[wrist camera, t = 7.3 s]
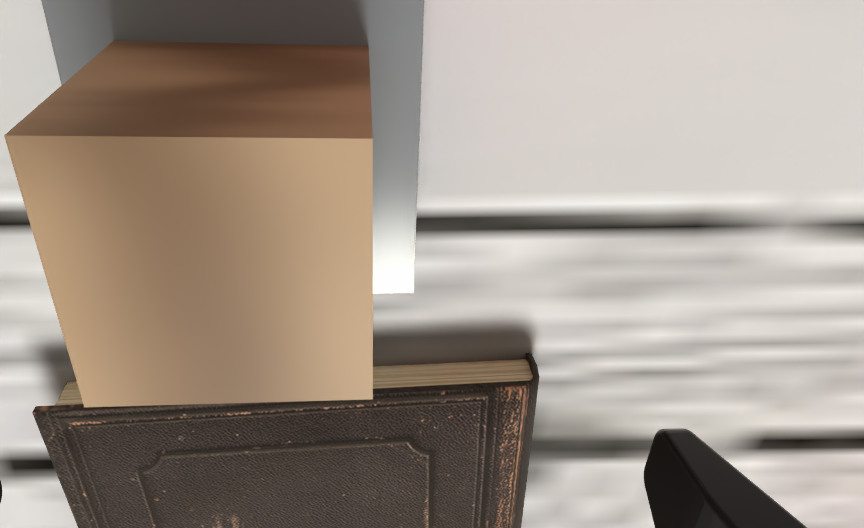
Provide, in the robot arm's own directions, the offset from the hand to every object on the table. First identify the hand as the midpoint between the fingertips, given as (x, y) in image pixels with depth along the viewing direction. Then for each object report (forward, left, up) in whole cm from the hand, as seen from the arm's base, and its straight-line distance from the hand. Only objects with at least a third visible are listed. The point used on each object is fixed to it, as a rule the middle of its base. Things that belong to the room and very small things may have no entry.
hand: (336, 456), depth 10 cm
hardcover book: (+1, +20, -12) cm, 23 cm away
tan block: (+2, 0, -9) cm, 9 cm away
